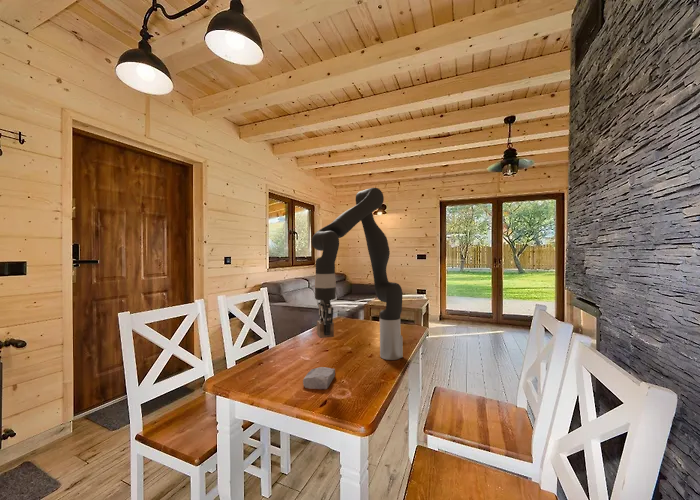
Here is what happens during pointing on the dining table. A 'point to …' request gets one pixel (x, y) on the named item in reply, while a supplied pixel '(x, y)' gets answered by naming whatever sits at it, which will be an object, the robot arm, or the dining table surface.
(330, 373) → the stone block
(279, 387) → the dining table surface
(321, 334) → the walnut cube
